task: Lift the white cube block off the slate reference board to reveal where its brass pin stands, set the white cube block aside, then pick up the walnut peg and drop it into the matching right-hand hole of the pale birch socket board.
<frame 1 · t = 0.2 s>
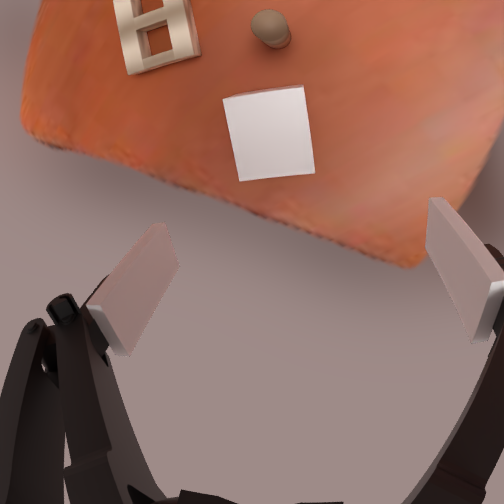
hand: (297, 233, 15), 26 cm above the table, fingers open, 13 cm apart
socket board: (159, 20, 31), on the table
peg: (277, 36, 31), on the table
white cube block: (276, 123, 37), on the table
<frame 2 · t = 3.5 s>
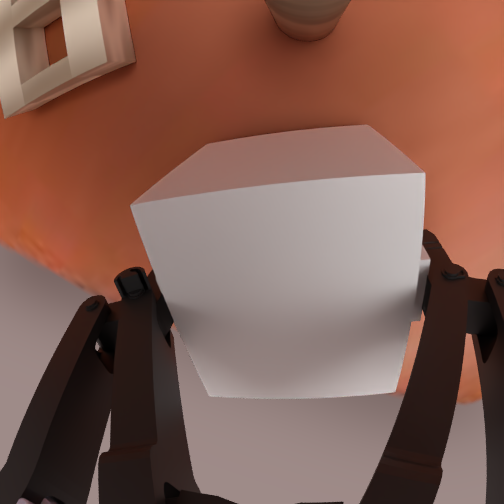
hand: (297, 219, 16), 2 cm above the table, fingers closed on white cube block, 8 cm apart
socket board: (63, 3, 13), on the table
peg: (305, 13, 12), on the table
white cube block: (298, 215, 17), point 1 cm above the table, touching gripper
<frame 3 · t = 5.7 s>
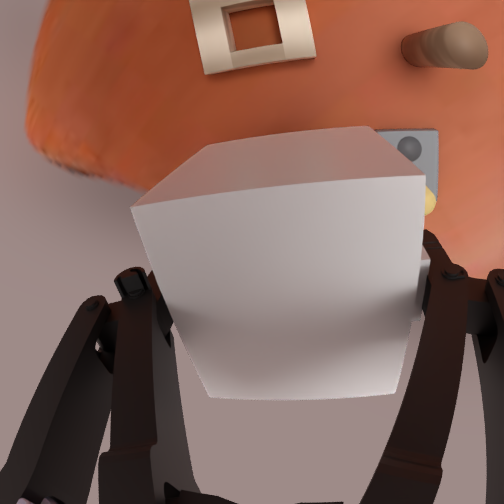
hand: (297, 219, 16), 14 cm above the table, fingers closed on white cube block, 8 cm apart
socket board: (250, 0, 21), on the table
reference board: (406, 164, 27), on the table
peg: (417, 50, 21), on the table
white cube block: (298, 216, 17), point 14 cm above the table, touching gripper
when the fingers open (2 cm above the table, at t = 7.8 s): white cube block drops 1 cm, on the table.
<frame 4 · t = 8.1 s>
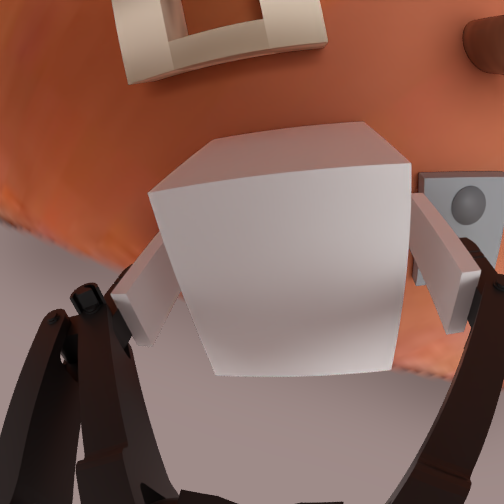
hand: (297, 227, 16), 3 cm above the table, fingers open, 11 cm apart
reference board: (459, 225, 16), on the table
peg: (485, 46, 11), on the table
white cube block: (298, 206, 18), on the table
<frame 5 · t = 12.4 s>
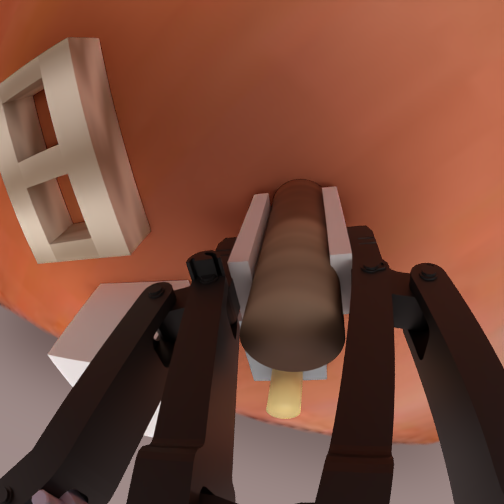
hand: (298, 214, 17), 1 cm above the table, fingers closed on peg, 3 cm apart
socket board: (69, 153, 18), on the table
reference board: (286, 343, 24), on the table
peg: (301, 206, 18), on the table, touching gripper
white cube block: (160, 326, 25), on the table
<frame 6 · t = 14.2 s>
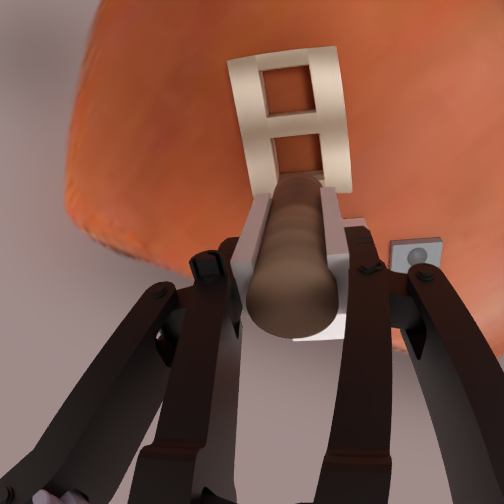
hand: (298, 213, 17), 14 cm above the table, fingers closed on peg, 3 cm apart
socket board: (294, 120, 28), on the table
reference board: (413, 265, 33), on the table
peg: (299, 197, 19), point 12 cm above the table, touching gripper
white cube block: (328, 257, 35), on the table
when the fingers open (5 cm above the table, at t = 16.2 s): peg drops 2 cm, resting in socket board.
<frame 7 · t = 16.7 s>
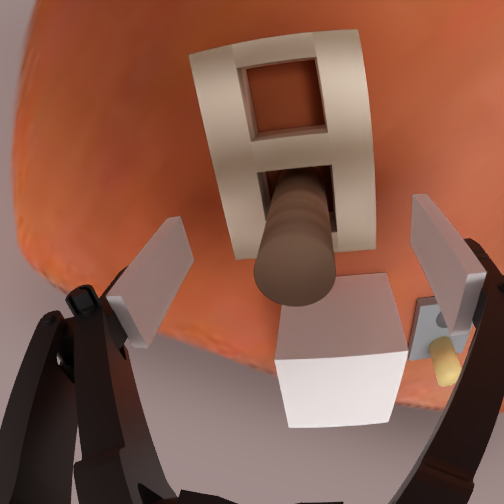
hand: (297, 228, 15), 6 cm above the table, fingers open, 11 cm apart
socket board: (293, 141, 19), on the table
reference board: (441, 324, 25), on the table
peg: (300, 186, 21), resting in socket board
white cube block: (337, 319, 26), on the table
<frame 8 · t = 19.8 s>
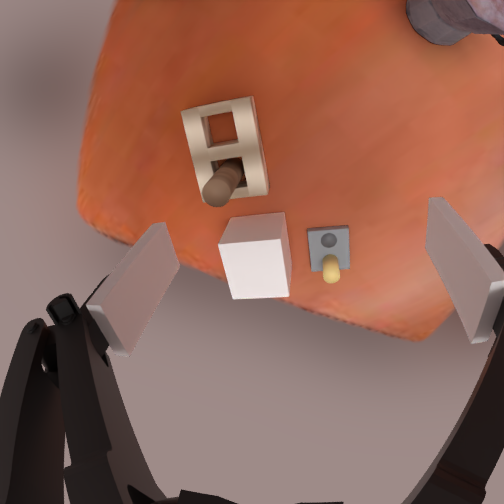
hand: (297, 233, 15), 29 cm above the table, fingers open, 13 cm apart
socket board: (229, 147, 42), on the table
reference board: (329, 247, 48), on the table
peg: (234, 168, 43), resting in socket board
moka pot: (437, 16, 27), on the table
white cube block: (262, 241, 49), on the table
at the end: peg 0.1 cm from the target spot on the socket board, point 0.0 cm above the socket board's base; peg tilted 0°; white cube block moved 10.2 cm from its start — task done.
